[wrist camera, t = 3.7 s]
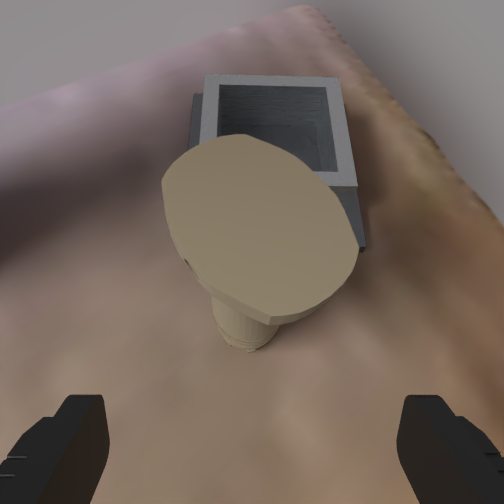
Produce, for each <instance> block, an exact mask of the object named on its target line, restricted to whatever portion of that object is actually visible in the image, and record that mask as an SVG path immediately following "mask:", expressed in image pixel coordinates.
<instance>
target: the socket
mask: <svg viewBox="0 0 504 504" xmlns="http://www.w3.org/2000/svg"><path fill="white" fill-rule="evenodd" d="M233 134H246V135H249V136H251V137H254V138H256V139H259V140H262V141H264V142H267V143H269V144H272V145H274V146H276V147H279V148H281V149H283V150H285V151H287V152H289V153H291V154H293V155H294V156H296V157H297V158H298V159H299V160H301V161H302V162H303V163H305V164H306V165H307V166H308V167H309V168H310V169H311V170H312V171H313V172H314V173H315V174H316V175H317V176H318V177H319V178H320V179H321V180H323V181H324V182H325V183H326V184H327V185H328V187H329V188H330V189H331V190H332V191H333V192H334V193H335V195H336V196H337V197H338V199H339V201H340V203H341V205H342V206H343V208H344V210H345V213H346V215H347V218H348V220H349V222H350V225H351V227H352V230H353V233H354V235H355V238H356V241H357V243H358V246H359V252H363V251H364V249H365V248H366V247H367V246H366V240H365V235H364V229H363V223H362V217H361V211H360V205H359V200H358V194H357V187H358V183H357V178H356V172H355V166H354V160H353V155H352V149H351V143H350V138H349V132H348V126H347V120H346V115H345V109H344V103H343V97H342V92H341V86H340V80H339V77H309V76H270V75H231V74H205V78H204V91H203V94H194V95H193V105H192V116H191V126H190V136H189V147H188V151H189V150H190V149H192V148H193V147H195V146H197V145H199V144H201V143H203V142H206V141H208V140H211V139H214V138H217V137H220V136H226V135H233Z"/></svg>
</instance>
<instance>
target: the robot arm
mask: <svg viewBox="0 0 504 504" xmlns="http://www.w3.org/2000/svg"><path fill="white" fill-rule="evenodd" d="M109 446H110V439H109V432H108V425H107V419H106V412H105V406H104V400H103V397H102V396H101V395H69V396H68V397H67V398H66V399H65V400H64V402H63V403H62V405H61V406H60V408H59V409H58V411H57V412H56V414H55V415H54V417H43V418H42V419H41V420H40V421H38V422H37V423H36V424H35V425H33V426H32V427H31V428H30V429H29V430H27V431H26V432H25V433H24V434H23V435H22V436H21V437H20V439H19V440H18V441H17V443H16V444H15V445H14V447H13V448H12V450H11V451H10V452H9V454H8V455H7V459H6V460H4V461H3V462H2V463H1V465H0V504H90V502H91V500H92V497H93V495H94V492H95V490H96V487H97V485H98V483H99V480H100V478H101V475H102V473H103V470H104V468H105V465H106V462H107V459H108V454H109ZM397 452H398V457H399V460H400V463H401V465H402V468H403V470H404V472H405V474H406V476H407V478H408V480H409V482H410V484H411V486H412V488H413V491H414V493H415V495H416V497H417V499H418V501H419V503H420V504H504V457H501V455H500V452H499V451H498V450H497V448H496V447H495V446H494V445H493V443H492V442H491V441H490V440H489V438H488V437H487V436H486V435H485V433H483V432H482V431H481V430H480V429H478V428H477V427H476V426H474V425H473V424H472V423H471V422H469V421H468V420H467V419H466V418H464V417H463V416H455V414H454V413H453V412H452V410H451V409H450V408H449V406H448V405H447V404H446V402H445V401H444V400H443V399H442V398H441V397H440V396H438V395H408V396H407V397H406V398H405V401H404V406H403V410H402V415H401V420H400V425H399V430H398V434H397Z"/></svg>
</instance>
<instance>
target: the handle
mask: <svg viewBox="0 0 504 504" xmlns="http://www.w3.org/2000/svg"><path fill="white" fill-rule="evenodd" d="M161 184H162V193H163V202H164V209H165V215H166V220H167V223H168V227H169V230H170V234H171V237H172V240H173V243H174V245H175V248H176V250H177V251H178V253H179V255H180V257H181V258H182V260H183V261H184V263H185V264H186V265H187V267H188V268H189V270H190V271H191V272H192V274H193V275H194V277H195V278H196V279H197V280H198V281H199V283H200V284H201V285H202V286H203V287H204V289H205V290H206V291H207V292H208V293H209V294H210V295H211V296H212V310H213V315H214V318H215V322H216V324H217V326H218V329H219V331H220V332H221V334H222V336H223V337H224V339H225V341H226V342H227V343H228V344H229V345H230V346H234V347H236V348H239V349H242V350H246V351H247V352H248V353H249V352H254V351H255V350H256V349H257V348H259V347H261V346H263V345H265V344H266V343H267V342H268V341H270V340H271V339H272V337H273V336H274V335H275V334H276V332H277V331H278V329H279V327H280V325H281V324H286V323H291V322H295V321H297V320H299V319H302V318H304V317H306V316H308V315H310V314H311V313H313V312H314V311H316V310H317V309H319V308H320V307H322V306H323V305H324V304H325V303H326V302H327V301H328V300H329V299H330V298H331V297H332V296H333V295H335V293H336V292H337V291H338V290H339V289H340V287H341V286H342V285H343V284H344V282H345V281H346V279H347V278H348V277H349V275H350V274H351V272H352V271H353V268H354V266H355V263H356V260H357V257H358V252H359V246H358V243H357V241H356V238H355V235H354V233H353V230H352V227H351V225H350V222H349V220H348V218H347V215H346V213H345V210H344V208H343V206H342V205H341V203H340V201H339V199H338V197H337V196H336V195H335V193H334V192H333V191H332V190H331V189H330V188H329V187H328V185H327V184H326V183H325V182H324V181H323V180H321V179H320V178H319V177H318V176H317V175H316V174H315V173H314V172H313V171H312V170H311V169H310V168H309V167H308V166H307V165H306V164H305V163H303V162H302V161H301V160H299V159H298V158H297V157H296V156H294V155H293V154H291V153H289V152H287V151H285V150H283V149H281V148H279V147H276V146H274V145H272V144H269V143H267V142H264V141H262V140H259V139H256V138H254V137H251V136H249V135H246V134H233V135H226V136H220V137H217V138H214V139H211V140H208V141H206V142H203V143H201V144H199V145H197V146H195V147H193V148H192V149H190V150H189V151H187V152H185V153H184V154H183V155H181V156H180V157H179V158H178V159H177V160H176V161H174V162H173V163H172V165H171V166H170V167H169V169H168V170H167V171H166V173H165V175H164V176H163V178H162V180H161Z"/></svg>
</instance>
